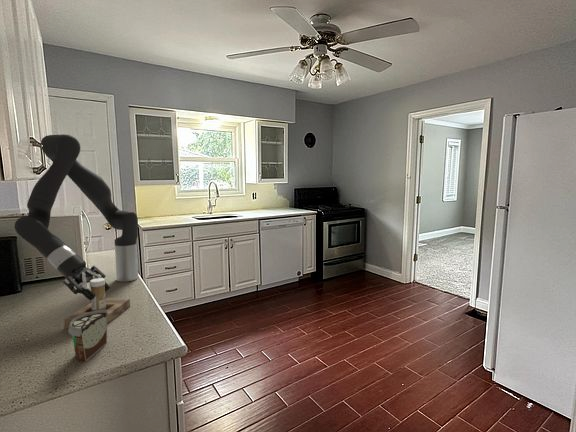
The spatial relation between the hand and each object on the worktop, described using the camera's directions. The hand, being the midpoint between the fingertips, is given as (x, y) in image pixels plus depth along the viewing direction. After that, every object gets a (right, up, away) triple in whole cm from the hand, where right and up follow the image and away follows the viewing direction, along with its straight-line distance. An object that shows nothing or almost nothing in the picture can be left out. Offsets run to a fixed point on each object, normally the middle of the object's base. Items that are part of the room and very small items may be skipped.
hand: (101, 293), depth 109 cm
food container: (+8, -11, -21) cm, 25 cm away
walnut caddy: (-1, -8, +1) cm, 8 cm away
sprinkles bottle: (-1, -8, +1) cm, 9 cm away
